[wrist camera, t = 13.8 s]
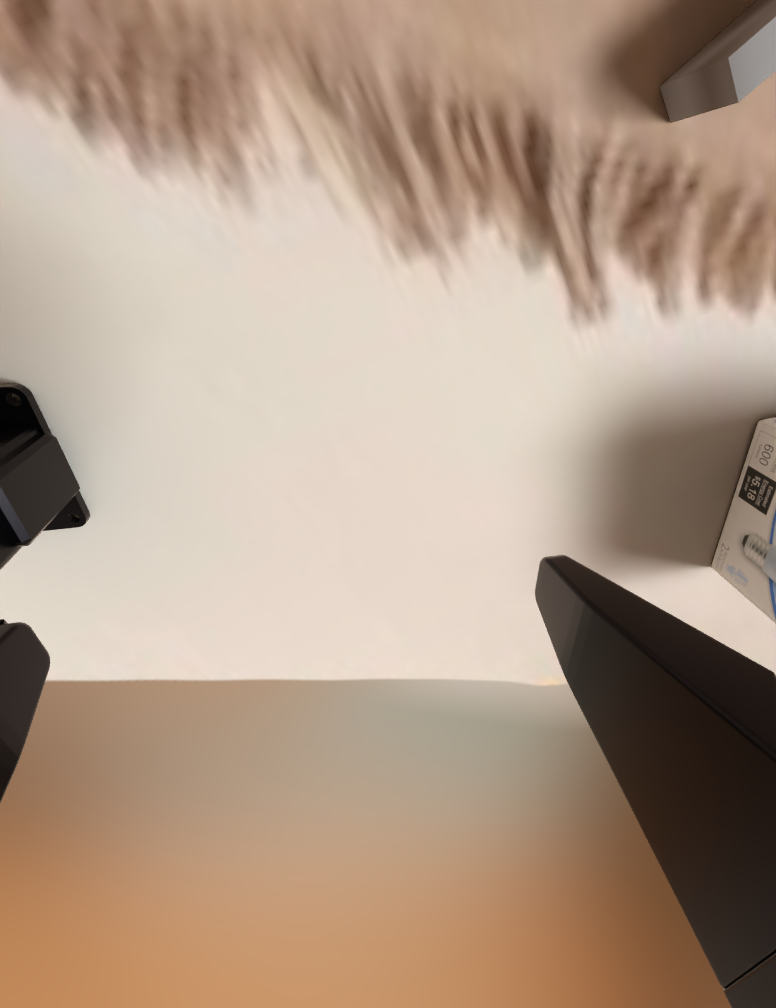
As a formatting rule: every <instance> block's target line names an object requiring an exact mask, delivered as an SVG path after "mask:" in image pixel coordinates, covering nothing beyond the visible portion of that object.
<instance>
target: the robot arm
mask: <svg viewBox="0 0 776 1008" xmlns="http://www.w3.org/2000/svg"><path fill="white" fill-rule="evenodd" d="M12 393H14V394H16V395H18V396H19V397H20V399H21V402H18V401H16V400H15V399H14V398H13V397H12ZM79 489H80V487H79V484H78V482H77V480H76V478H75V476H74V474H73V472H72V470H71V468H70V466H69V464H68V461H67V459H66V457H65V455H64V453H63V451H62V449H61V447H60V445H59V443H58V441H57V439H56V437H54V436H53V435H52V433H51V431H50V429H49V427H48V425H47V423H46V421H45V419H44V417H43V415H42V413H41V411H40V408H39V406H38V404H37V402H36V400H35V398H34V396H33V394H32V393H31V392H30V390H29V389H27V388H26V387H25V386H22V385H20V384H2V385H0V570H1V569H2V568H3V567H4V565H5V564H6V563H7V562H8V561H9V560H10V559H11V558H12V557H13V556H14V555H15V554H16V553H17V552H18V551H19V549H20V548H21V547H22V546H28V545H30V544H31V543H32V542H33V541H34V539H35V538H36V537H37V536H38V535H39V534H40V533H41V532H42V531H46V530H56V529H65V528H75V527H81V526H83V525H84V524H85V523H86V522H87V521H88V520H89V518H90V513H89V510H88V508H87V506H86V504H85V502H84V500H83V498H82V496H81V494H80V492H79ZM72 513H74V514H77V515H78V516H79V517H80V518H77V517H75V516H73V515H72ZM535 597H536V602H537V605H538V607H539V610H540V612H541V615H542V618H543V620H544V623H545V626H546V628H547V631H548V634H549V636H550V639H551V642H552V644H553V647H554V650H555V652H556V655H557V658H558V660H559V663H560V666H561V668H562V670H563V673H564V675H565V678H566V680H567V682H568V684H569V686H570V688H571V690H572V692H573V694H574V696H575V698H576V700H577V702H578V704H579V706H580V708H581V710H582V712H583V714H584V716H585V718H586V720H587V722H588V724H589V726H590V728H591V730H592V732H593V734H594V736H595V738H596V739H597V742H598V744H599V745H600V747H601V749H602V751H603V753H604V755H605V757H606V759H607V761H608V763H609V765H610V767H611V769H612V771H613V773H614V775H615V777H616V779H617V781H618V783H619V785H620V787H621V789H622V791H623V793H624V795H625V797H626V799H627V801H628V803H629V805H630V807H631V809H632V811H633V812H634V815H635V817H636V818H637V821H638V823H639V825H640V827H641V828H642V830H643V832H644V834H645V836H646V838H647V840H648V842H649V844H650V846H651V848H652V850H653V852H654V854H655V856H656V858H657V860H658V862H659V864H660V866H661V868H662V870H663V872H664V874H665V875H666V878H667V880H668V882H669V884H670V886H671V888H672V890H673V891H674V894H675V896H676V898H677V900H678V902H679V904H680V906H681V908H682V910H683V911H684V914H685V916H686V917H687V919H688V921H689V923H690V925H691V927H692V929H693V931H694V933H695V935H696V937H697V939H698V941H699V943H700V945H701V947H702V949H703V951H704V953H705V955H706V957H707V959H708V961H709V963H710V965H711V967H712V969H713V971H714V973H715V975H716V977H717V979H718V981H719V983H720V985H721V986H722V987H723V988H724V993H725V995H726V997H727V999H728V1001H729V1003H730V1005H731V1007H732V1008H776V675H775V674H774V672H772V671H770V670H768V669H767V668H765V667H763V666H761V665H760V664H758V663H756V662H754V661H752V660H751V659H749V658H747V657H745V656H744V655H742V654H740V653H738V652H736V651H735V650H733V649H731V648H729V647H728V646H726V645H724V644H722V643H720V642H719V641H717V640H715V639H713V638H712V637H710V636H708V635H706V634H704V633H703V632H701V631H699V630H697V629H696V628H694V627H692V626H690V625H688V624H687V623H685V622H683V621H681V620H680V619H678V618H676V617H674V616H672V615H671V614H669V613H667V612H665V611H664V610H662V609H660V608H658V607H656V606H655V605H653V604H651V603H649V602H648V601H646V600H644V599H642V598H640V597H639V596H637V595H635V594H633V593H632V592H630V591H628V590H626V589H624V588H623V587H621V586H619V585H617V584H616V583H614V582H612V581H610V580H608V579H607V578H605V577H603V576H601V575H600V574H598V573H596V572H594V571H592V570H591V569H589V568H587V567H585V566H584V565H582V564H580V563H578V562H576V561H575V560H573V559H571V558H569V557H567V556H565V555H557V556H549V557H545V558H543V559H542V560H541V562H540V565H539V571H538V577H537V582H536V588H535ZM49 667H50V657H49V654H48V652H47V650H46V649H45V647H44V646H43V644H42V643H41V642H40V640H39V639H38V637H37V636H36V634H35V633H34V631H33V630H32V628H31V627H30V626H29V625H27V624H25V623H21V622H18V623H10V624H8V623H7V622H6V621H5V620H3V619H1V620H0V802H1V800H2V798H3V795H4V793H5V791H6V789H7V786H8V784H9V782H10V779H11V777H12V775H13V773H14V770H15V768H16V765H17V763H18V761H19V758H20V755H21V752H22V749H23V747H24V744H25V741H26V738H27V735H28V732H29V729H30V726H31V723H32V720H33V717H34V714H35V711H36V708H37V704H38V702H39V698H40V695H41V692H42V689H43V686H44V683H45V680H46V677H47V674H48V671H49Z"/></svg>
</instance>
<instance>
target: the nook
mask: <svg viewBox="0 0 776 1008" xmlns="http://www.w3.org/2000/svg"><path fill="white" fill-rule="evenodd" d="M775 71H776V0H756V1H755V2H754V3H753V4H752V5H751V6H750V7H749V8H747V9H746V10H745V11H744V12H743V13H742V14H741V15H740V16H738V17H737V18H736V19H735V20H734V21H733V22H732V23H731V24H729V25H728V26H727V27H726V28H725V29H724V30H723V31H722V32H721V33H719V34H718V35H717V36H716V37H715V38H714V39H713V40H712V41H710V42H709V43H708V44H707V45H706V46H705V47H704V48H703V49H701V50H700V51H699V52H698V53H697V54H696V55H695V56H694V57H692V58H691V59H690V60H689V61H688V62H687V63H686V64H685V65H683V66H682V67H681V68H680V69H679V70H678V71H677V72H676V73H675V74H673V75H672V76H671V77H670V78H669V79H668V80H667V81H666V82H664V83H663V84H662V85H661V86H660V90H661V93H662V96H663V99H664V103H665V106H666V109H667V112H668V116H669V119H670V122H671V123H672V122H675V121H679V120H682V119H685V118H689V117H692V116H695V115H698V114H702V113H705V112H708V111H712V110H715V109H718V108H721V107H725V106H728V105H731V104H735V103H738V102H739V101H741V100H742V99H743V98H744V97H745V96H747V95H748V94H749V93H750V92H751V91H752V90H754V89H755V88H756V87H757V86H758V85H760V84H761V83H762V82H763V81H764V80H766V79H767V78H768V77H769V76H770V75H772V74H773V73H774V72H775Z"/></svg>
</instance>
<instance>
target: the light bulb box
mask: <svg viewBox="0 0 776 1008" xmlns="http://www.w3.org/2000/svg"><path fill="white" fill-rule="evenodd" d="M711 567H712V568H713V569H714V570H715V571H716V572H718V573H719V574H720V575H721V576H722V577H723V578H724V579H725V580H727V581H728V582H729V583H730V584H731V585H732V586H733V587H735V588H736V589H737V590H738V591H739V592H740V593H741V594H743V595H744V596H745V597H746V598H747V599H748V600H750V601H751V602H752V603H753V604H754V605H755V606H756V607H757V608H759V609H760V610H761V611H762V612H763V613H764V614H766V615H767V616H768V617H769V618H770V619H771V620H772V621H773V622H775V623H776V417H773V418H768V419H764V420H760V421H759V422H758V424H757V427H756V430H755V433H754V436H753V439H752V442H751V445H750V448H749V451H748V454H747V458H746V461H745V464H744V467H743V470H742V473H741V476H740V479H739V482H738V485H737V488H736V491H735V495H734V498H733V501H732V504H731V507H730V510H729V513H728V516H727V519H726V522H725V525H724V528H723V531H722V534H721V537H720V540H719V544H718V547H717V550H716V553H715V556H714V559H713V562H712V565H711Z"/></svg>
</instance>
